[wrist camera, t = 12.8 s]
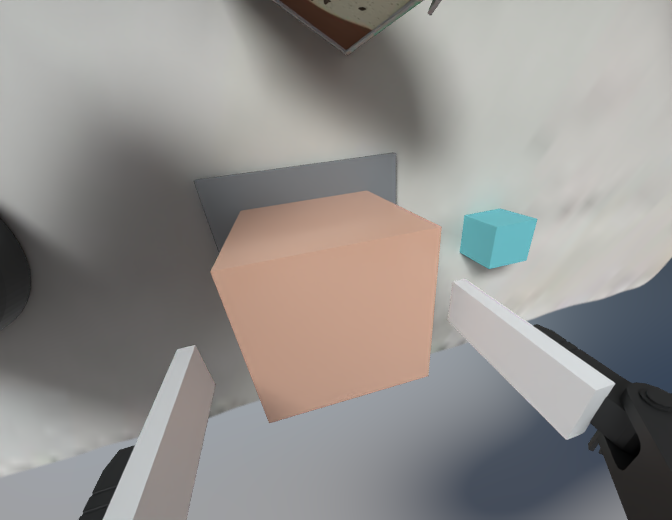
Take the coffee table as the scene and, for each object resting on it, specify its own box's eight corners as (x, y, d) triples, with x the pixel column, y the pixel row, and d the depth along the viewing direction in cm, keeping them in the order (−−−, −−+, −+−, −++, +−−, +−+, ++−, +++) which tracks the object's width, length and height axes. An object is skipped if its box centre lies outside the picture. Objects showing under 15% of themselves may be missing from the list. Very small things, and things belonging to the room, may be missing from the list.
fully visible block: (459, 252, 26) (489, 269, 22) (464, 215, 24) (497, 227, 20) (492, 244, 26) (526, 260, 23) (499, 208, 25) (537, 218, 21)
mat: (251, 337, 24) (250, 341, 24) (195, 179, 17) (193, 180, 17) (393, 303, 26) (395, 306, 26) (392, 152, 20) (396, 153, 19)
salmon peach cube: (270, 315, 23) (269, 423, 14) (240, 210, 18) (210, 271, 10) (372, 292, 24) (428, 375, 16) (367, 190, 20) (441, 226, 11)
